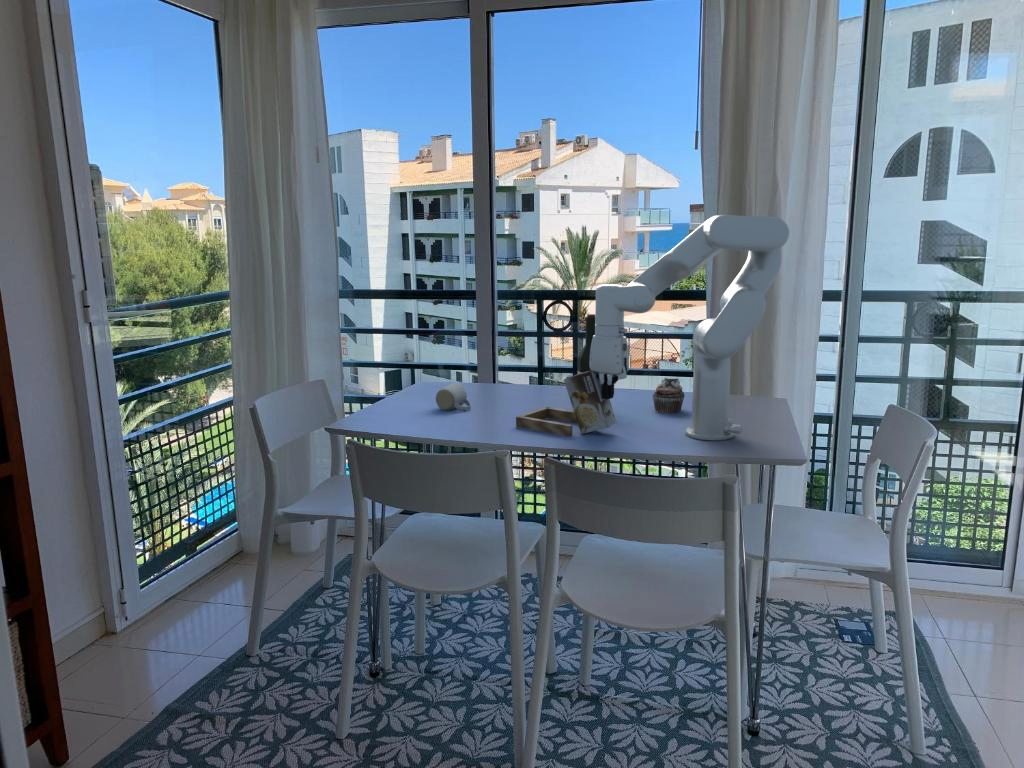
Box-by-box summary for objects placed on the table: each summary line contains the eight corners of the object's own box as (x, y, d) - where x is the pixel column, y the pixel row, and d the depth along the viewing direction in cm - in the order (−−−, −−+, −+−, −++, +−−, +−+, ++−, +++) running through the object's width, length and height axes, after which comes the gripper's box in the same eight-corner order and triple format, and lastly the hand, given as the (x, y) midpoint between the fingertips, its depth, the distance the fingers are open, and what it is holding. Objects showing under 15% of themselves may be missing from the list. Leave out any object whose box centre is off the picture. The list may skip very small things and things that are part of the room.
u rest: (598, 425, 214) (598, 415, 214) (569, 436, 203) (569, 426, 202) (546, 416, 226) (546, 406, 225) (516, 426, 214) (515, 416, 214)
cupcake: (651, 406, 236) (652, 375, 234) (682, 407, 234) (683, 376, 232) (652, 414, 227) (653, 381, 225) (685, 414, 225) (686, 382, 223)
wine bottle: (602, 413, 228) (603, 316, 222) (575, 412, 230) (575, 315, 224) (605, 407, 236) (605, 312, 230) (578, 406, 238) (579, 312, 232)
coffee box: (618, 422, 206) (601, 367, 205) (609, 427, 200) (591, 370, 200) (589, 429, 210) (572, 375, 210) (579, 434, 205) (562, 379, 205)
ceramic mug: (434, 410, 236) (433, 386, 235) (447, 404, 243) (446, 381, 242) (463, 413, 232) (463, 389, 230) (475, 408, 239) (475, 384, 237)
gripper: (641, 331, 196) (638, 399, 200) (592, 327, 205) (591, 392, 209) (626, 335, 191) (625, 404, 194) (577, 330, 200) (576, 397, 203)
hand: (607, 398), depth 202 cm, fingers closed
